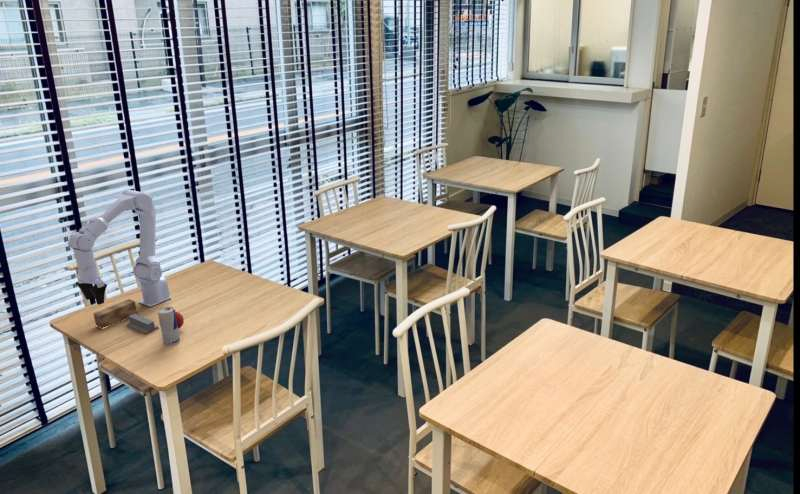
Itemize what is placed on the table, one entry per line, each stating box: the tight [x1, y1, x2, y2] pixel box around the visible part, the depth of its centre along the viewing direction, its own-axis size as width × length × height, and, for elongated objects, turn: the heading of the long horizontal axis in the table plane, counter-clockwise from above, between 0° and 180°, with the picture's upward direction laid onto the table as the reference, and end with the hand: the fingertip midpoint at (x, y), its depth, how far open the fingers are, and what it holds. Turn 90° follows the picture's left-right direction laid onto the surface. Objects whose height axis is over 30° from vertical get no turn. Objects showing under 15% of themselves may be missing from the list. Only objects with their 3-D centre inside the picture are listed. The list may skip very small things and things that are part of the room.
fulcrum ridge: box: [126, 314, 159, 335], centre depth 225 cm, size 5×12×3 cm, turn 54°
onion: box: [175, 311, 185, 330], centre depth 221 cm, size 6×6×8 cm
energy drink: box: [157, 306, 181, 346], centre depth 212 cm, size 5×5×12 cm
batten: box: [93, 298, 139, 328], centre depth 231 cm, size 14×4×6 cm, turn 144°
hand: (95, 301), depth 225 cm, fingers open, 7 cm apart
